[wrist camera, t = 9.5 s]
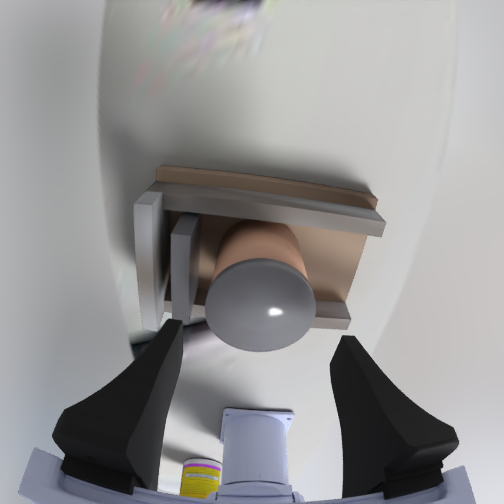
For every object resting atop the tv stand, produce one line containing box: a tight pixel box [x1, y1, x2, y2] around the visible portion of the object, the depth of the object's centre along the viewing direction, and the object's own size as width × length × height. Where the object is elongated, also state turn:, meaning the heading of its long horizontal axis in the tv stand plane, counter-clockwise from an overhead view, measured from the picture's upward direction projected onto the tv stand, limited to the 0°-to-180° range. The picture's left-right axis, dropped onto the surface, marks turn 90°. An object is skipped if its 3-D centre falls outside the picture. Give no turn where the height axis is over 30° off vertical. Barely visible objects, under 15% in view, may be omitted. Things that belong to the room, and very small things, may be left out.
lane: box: [133, 166, 386, 331], centre depth 19 cm, size 10×14×5 cm
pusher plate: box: [171, 212, 202, 325], centre depth 18 cm, size 6×1×4 cm, turn 173°
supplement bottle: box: [179, 459, 222, 499], centre depth 35 cm, size 7×7×13 cm
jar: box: [205, 219, 316, 352], centre depth 18 cm, size 6×6×6 cm
